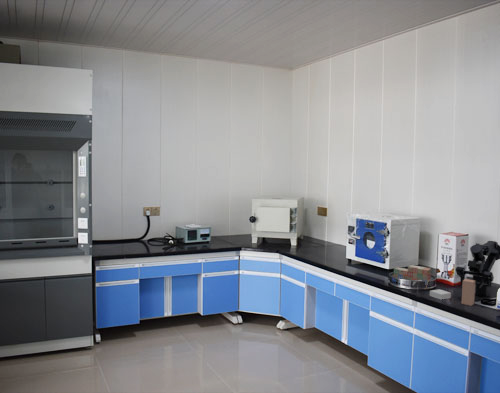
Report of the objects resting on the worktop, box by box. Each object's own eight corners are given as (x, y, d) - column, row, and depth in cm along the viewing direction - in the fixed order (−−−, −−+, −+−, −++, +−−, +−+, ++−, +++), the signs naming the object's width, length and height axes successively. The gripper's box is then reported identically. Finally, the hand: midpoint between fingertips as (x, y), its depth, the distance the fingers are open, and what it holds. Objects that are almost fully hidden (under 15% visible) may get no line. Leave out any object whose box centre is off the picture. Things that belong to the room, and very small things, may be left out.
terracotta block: (464, 301, 250) (465, 278, 249) (474, 303, 246) (475, 280, 245) (461, 303, 246) (462, 280, 245) (471, 305, 243) (472, 282, 242)
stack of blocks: (392, 283, 287) (393, 264, 286) (397, 281, 292) (397, 262, 291) (426, 289, 273) (427, 269, 272) (430, 287, 278) (431, 268, 277)
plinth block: (439, 294, 263) (439, 289, 263) (450, 298, 256) (451, 292, 256) (429, 295, 260) (429, 290, 260) (440, 299, 253) (441, 294, 252)
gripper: (457, 252, 256) (449, 274, 249) (493, 257, 243) (485, 281, 236) (461, 264, 262) (453, 285, 255) (496, 269, 250) (489, 293, 242)
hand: (470, 286), depth 247 cm, fingers open, 9 cm apart
